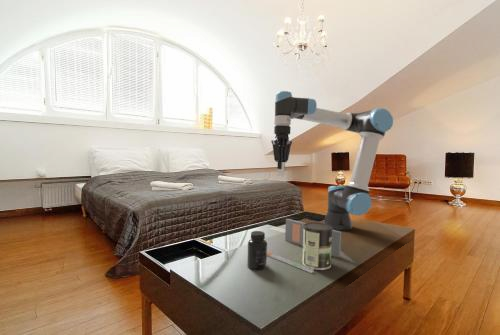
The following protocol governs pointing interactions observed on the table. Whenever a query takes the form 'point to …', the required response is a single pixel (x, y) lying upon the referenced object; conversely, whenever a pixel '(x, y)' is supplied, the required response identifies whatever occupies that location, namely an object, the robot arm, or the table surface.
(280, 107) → the robot arm
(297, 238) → the panel board
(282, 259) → the front rail
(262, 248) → the supplement bottle
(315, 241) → the coffee can
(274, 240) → the table surface
